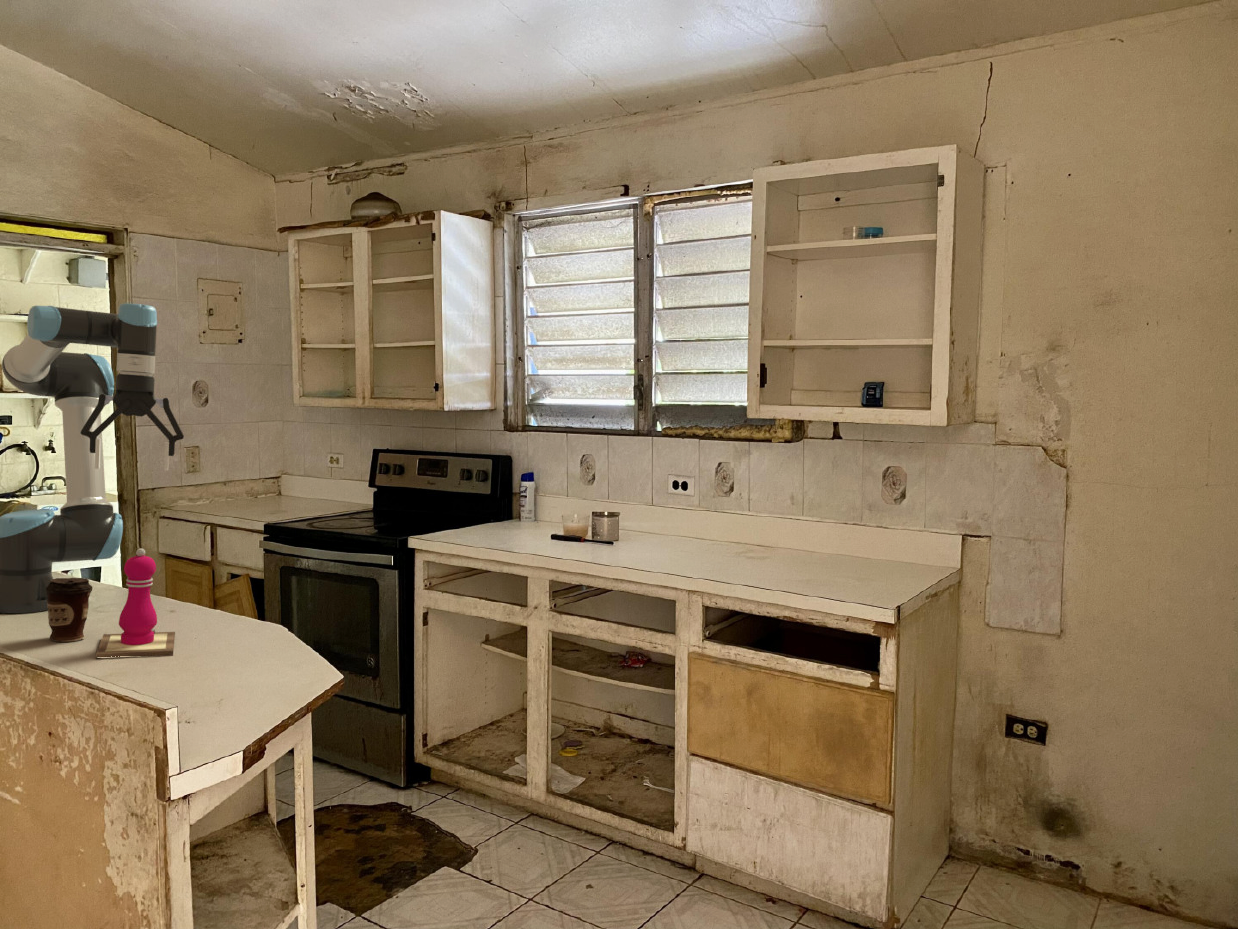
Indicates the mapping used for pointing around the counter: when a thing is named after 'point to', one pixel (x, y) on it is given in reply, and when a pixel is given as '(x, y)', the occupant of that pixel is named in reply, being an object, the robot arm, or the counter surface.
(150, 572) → the pepper mill
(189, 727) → the counter surface
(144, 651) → the clipboard
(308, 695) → the counter surface
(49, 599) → the coffee cup
